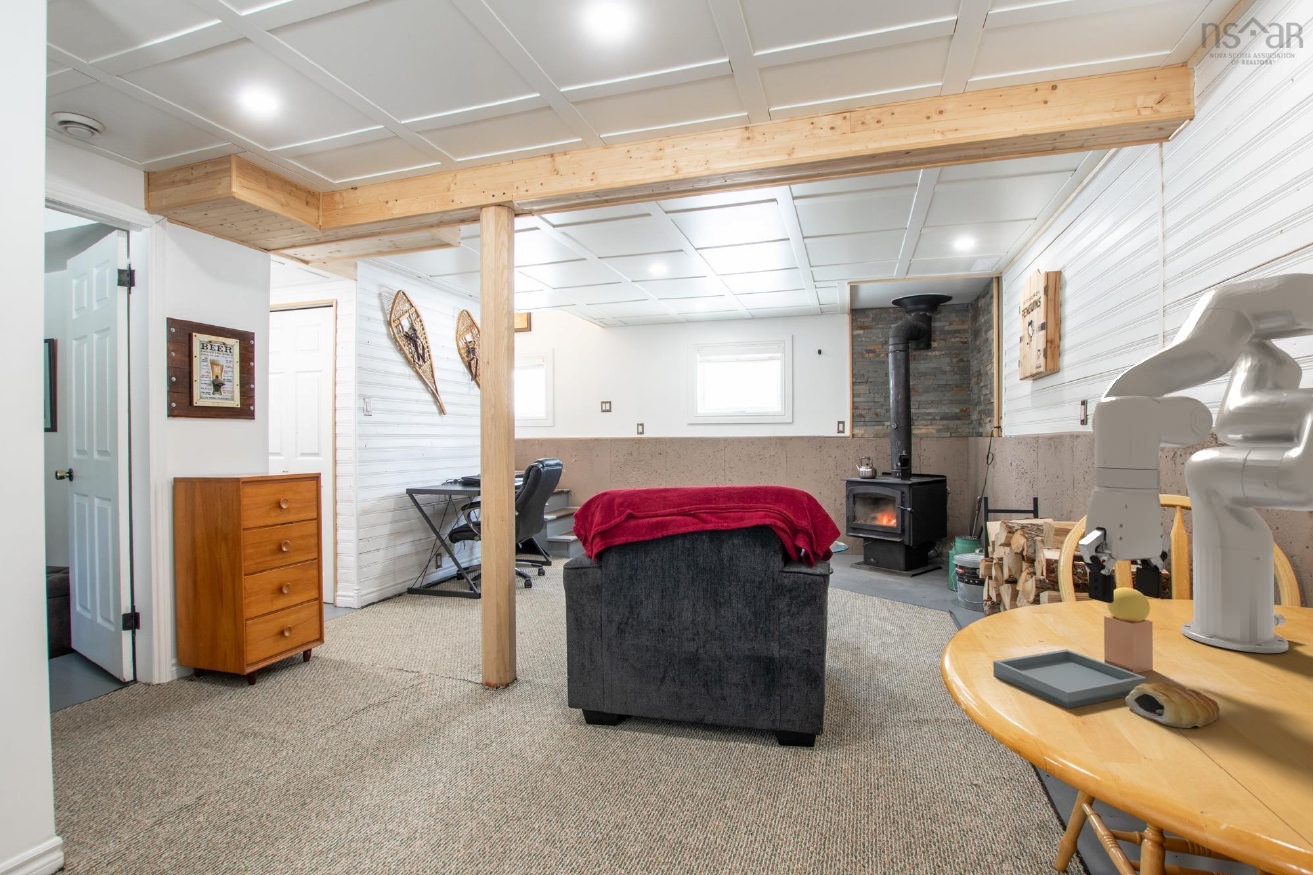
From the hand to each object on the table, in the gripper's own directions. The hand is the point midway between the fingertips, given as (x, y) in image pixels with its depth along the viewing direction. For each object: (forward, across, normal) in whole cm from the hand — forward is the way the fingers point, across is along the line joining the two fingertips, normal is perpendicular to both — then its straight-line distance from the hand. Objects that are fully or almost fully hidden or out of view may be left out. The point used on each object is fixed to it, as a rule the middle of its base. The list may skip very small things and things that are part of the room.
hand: (1125, 598), depth 88 cm
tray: (+10, +13, +1) cm, 17 cm away
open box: (+10, -1, 0) cm, 10 cm away
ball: (+1, -1, 0) cm, 1 cm away
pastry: (+11, +10, +12) cm, 19 cm away
